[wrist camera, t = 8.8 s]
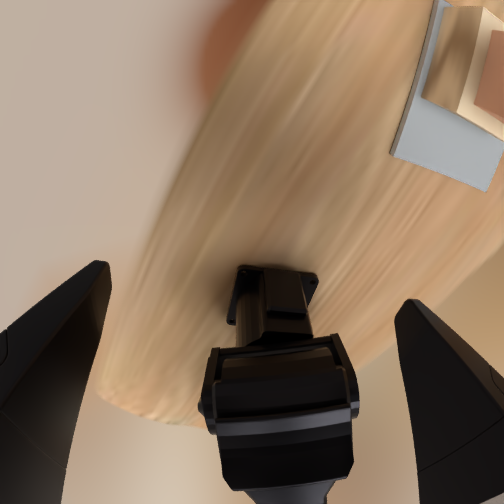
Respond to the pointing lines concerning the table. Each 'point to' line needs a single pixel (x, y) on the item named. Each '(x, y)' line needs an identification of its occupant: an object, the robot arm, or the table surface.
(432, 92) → the base brick
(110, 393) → the table surface
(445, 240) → the table surface
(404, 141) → the build plate
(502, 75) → the top brick
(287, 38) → the table surface
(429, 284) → the table surface
